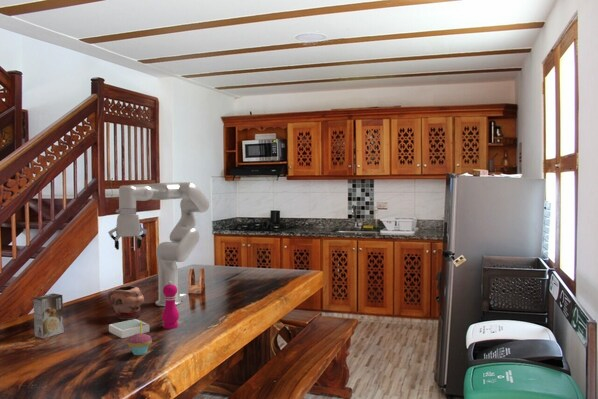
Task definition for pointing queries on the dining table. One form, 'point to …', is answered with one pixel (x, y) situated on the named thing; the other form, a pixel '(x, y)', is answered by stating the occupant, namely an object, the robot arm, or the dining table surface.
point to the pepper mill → (170, 307)
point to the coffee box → (48, 315)
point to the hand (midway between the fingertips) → (128, 248)
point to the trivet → (128, 328)
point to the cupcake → (139, 342)
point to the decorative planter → (126, 301)
